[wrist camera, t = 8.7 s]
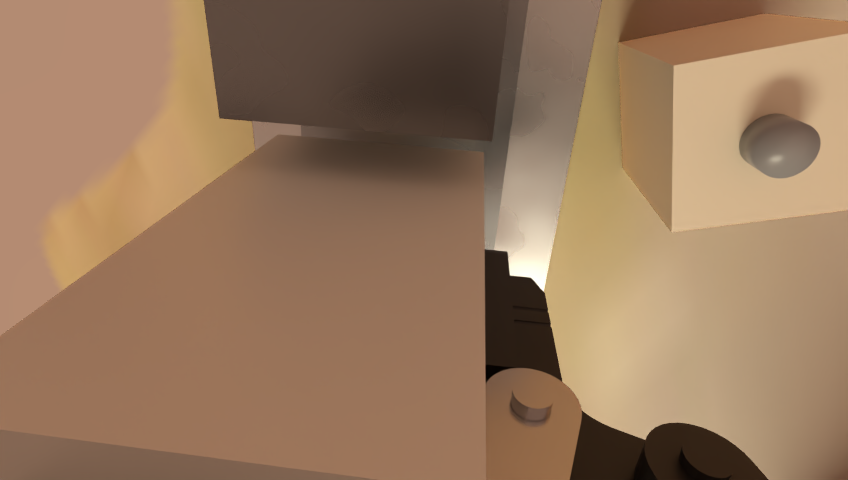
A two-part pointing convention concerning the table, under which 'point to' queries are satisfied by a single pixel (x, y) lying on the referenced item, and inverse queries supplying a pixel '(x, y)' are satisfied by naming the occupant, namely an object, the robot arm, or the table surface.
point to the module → (270, 331)
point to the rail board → (422, 89)
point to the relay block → (737, 120)
